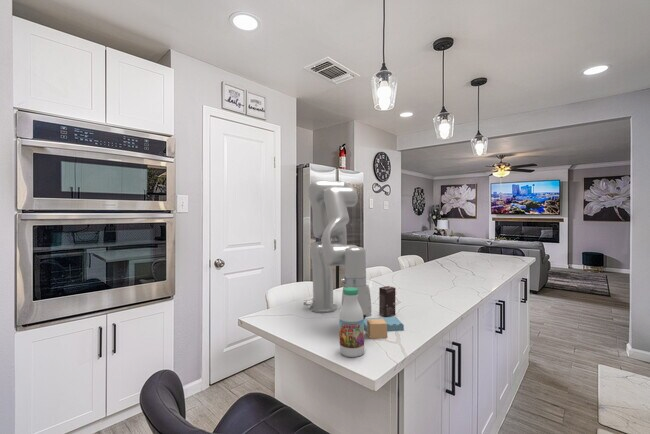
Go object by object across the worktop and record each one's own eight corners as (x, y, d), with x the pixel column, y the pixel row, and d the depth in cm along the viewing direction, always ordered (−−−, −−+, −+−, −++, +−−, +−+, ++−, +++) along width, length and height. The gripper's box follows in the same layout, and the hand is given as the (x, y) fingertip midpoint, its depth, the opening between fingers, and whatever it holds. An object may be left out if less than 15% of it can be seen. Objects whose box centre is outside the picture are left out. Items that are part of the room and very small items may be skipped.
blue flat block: (366, 332, 108) (366, 325, 108) (361, 323, 117) (361, 317, 117) (403, 330, 109) (403, 324, 109) (396, 321, 118) (396, 316, 118)
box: (386, 318, 123) (385, 289, 123) (379, 315, 126) (378, 287, 127) (396, 315, 126) (395, 287, 126) (389, 312, 130) (388, 285, 130)
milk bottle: (338, 347, 95) (336, 286, 96) (361, 346, 96) (360, 285, 96) (341, 358, 88) (340, 291, 88) (366, 357, 88) (365, 290, 89)
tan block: (370, 338, 102) (370, 324, 102) (367, 333, 107) (366, 319, 107) (387, 337, 102) (386, 323, 102) (383, 332, 107) (383, 318, 107)
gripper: (335, 284, 100) (337, 338, 100) (378, 283, 101) (380, 336, 101) (333, 280, 108) (334, 330, 107) (373, 279, 109) (375, 328, 108)
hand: (356, 333), depth 104 cm, fingers closed
